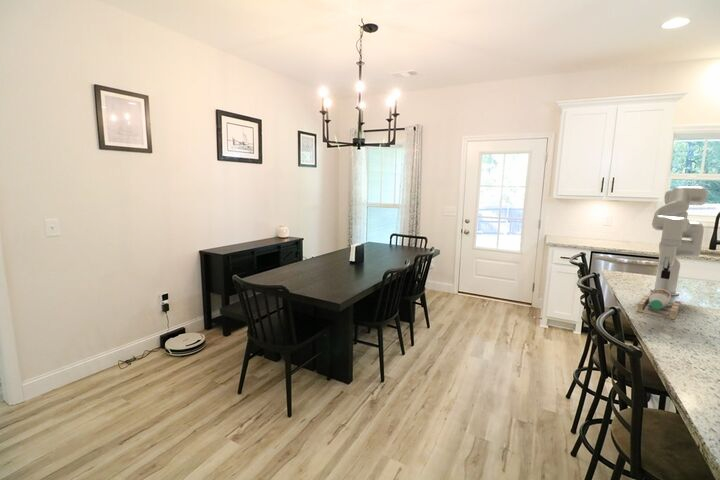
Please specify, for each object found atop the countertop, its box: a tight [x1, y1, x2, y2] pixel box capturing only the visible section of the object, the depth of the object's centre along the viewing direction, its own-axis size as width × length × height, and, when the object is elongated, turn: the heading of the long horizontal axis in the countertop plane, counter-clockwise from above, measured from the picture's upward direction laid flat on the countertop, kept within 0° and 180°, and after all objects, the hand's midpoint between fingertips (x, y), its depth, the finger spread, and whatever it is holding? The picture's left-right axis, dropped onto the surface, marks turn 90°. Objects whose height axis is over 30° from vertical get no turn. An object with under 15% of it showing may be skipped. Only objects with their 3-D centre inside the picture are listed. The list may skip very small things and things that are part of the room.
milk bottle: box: [649, 289, 672, 310], centre depth 173 cm, size 8×8×20 cm
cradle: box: [636, 294, 682, 320], centre depth 172 cm, size 20×14×4 cm
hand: (664, 278), depth 175 cm, fingers closed
